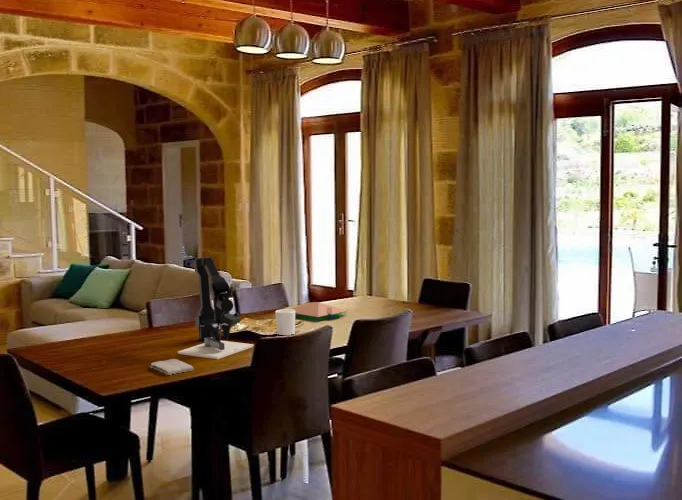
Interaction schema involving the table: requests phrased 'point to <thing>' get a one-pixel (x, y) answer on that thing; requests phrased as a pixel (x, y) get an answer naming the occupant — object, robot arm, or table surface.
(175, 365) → the washcloth
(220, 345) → the tuner lever
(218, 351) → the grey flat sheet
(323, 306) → the house
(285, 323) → the candle holder
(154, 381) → the table surface
